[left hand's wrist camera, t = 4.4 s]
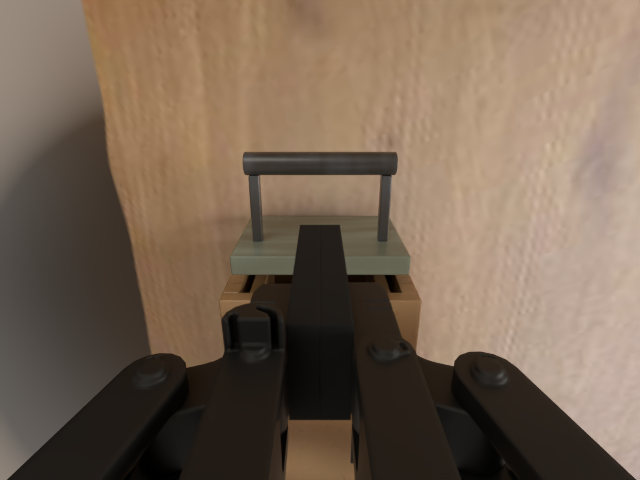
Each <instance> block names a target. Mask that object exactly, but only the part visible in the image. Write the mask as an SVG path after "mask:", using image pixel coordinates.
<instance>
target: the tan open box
mask: <svg viewBox="0 0 640 480" xmlns="http://www.w3.org/2000/svg"><path fill="white" fill-rule="evenodd" d="M255 276H256V275H231V277H230V279H229V281H228V283H227V285H226V287H225V289H224V292H223V294H222V296H221V298H220V300H219V305H220V314H221V319H222V317H223V316H224V315H225V313H226V312H228V311H229V310H231V309H233V308H234V307H237V306H240V305H243V304H248V303H250V301H251V298H252V295H253V293H250V291H251V288H252V285H253V282H254V279H255ZM385 278H386V281H387V284H388V287H389V290H390V293H388V296H389V299H390V302H391V305H392V308H393V311H394V314H395V317H396V320H397V323H398V326H399V329H400V332H401V335H402V338H403V339H405V340H406V341H408V342H409V343H410V344H411V345H412V347H413V348H414V349H415V351H416V346H417V337H418V328H419V319H420V310H421V299H420V297H419V295H418V292H417V290H416V288H415V286H414V284H413V282H412V280H411V277H410V275H385ZM221 323H222V320H221ZM222 332H223V329H222ZM223 341H224V338H223ZM224 350H225V347H224ZM288 436H289V441H288V453H287V464H286V476H285V480H355V475H354V464H353V463H350V461H351V436H352V416H351V420H289V417H288Z"/></svg>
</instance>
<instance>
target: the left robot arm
mask: <svg viewBox="0 0 640 480" xmlns="http://www.w3.org/2000/svg"><path fill="white" fill-rule="evenodd" d="M221 320H222V329H223V338H224V347H225V352H224V355H223V357H222V358H220V359H218V360H216V361H213V362H210V363H207V364H203V365H198V366H194V367H189V368H186V363H185V362H184V360H183V359H182V358H181V357H179V356H177V355H174V354H167V353H159V354H154V355H149V356H146V357H143V358H141V359H139V360H136V361H134V362H133V363H131V364H130V365H129V366H127V367H126V368H125V369H123V370H122V371H121V372H120V373H119V374H118V375H117V376H116V377H115V378H114V379H113V380H112V381H111V382H110V383H109V384H108V385H106V386H105V387H104V388H103V389H102V390H101V391H100V392H99V393H98V394H97V395H96V396H95V397H94V398H93V399H92V400H91V401H90V402H89V403H88V404H87V405H85V406H84V407H83V408H82V409H81V410H80V411H79V412H78V413H77V414H76V415H75V416H74V417H73V418H72V419H71V420H70V421H69V422H67V423H66V424H65V425H64V426H63V427H62V428H61V429H60V430H59V431H58V432H57V433H56V434H55V435H54V436H53V437H52V438H51V439H50V440H49V441H47V442H46V443H45V444H44V445H43V446H42V447H41V448H40V449H39V450H38V451H37V452H36V453H35V454H34V455H33V456H32V457H31V458H29V459H28V460H27V461H26V462H25V463H24V464H23V465H22V466H21V467H20V468H19V469H18V470H17V471H16V472H15V473H14V474H13V475H12V476H11V477H9V478H8V479H7V480H285V476H286V464H287V453H288V441H289V436H288V417H289V420H351V416H352V436H351V461H350V463H353V464H354V475H355V480H636V479H635V478H634V477H633V476H632V475H630V474H629V473H628V472H627V471H626V470H625V469H624V468H623V467H622V466H621V465H620V464H619V463H618V462H617V461H616V460H615V459H613V458H612V457H611V456H610V455H609V454H608V453H607V452H606V451H605V450H604V449H603V448H602V447H601V446H600V445H599V444H598V443H596V442H595V441H594V440H593V439H592V438H591V437H590V436H589V435H588V434H587V433H586V432H585V431H584V430H583V429H582V428H581V427H579V426H578V425H577V424H576V423H575V422H574V421H573V420H572V419H571V418H570V417H569V416H568V415H567V414H566V413H565V412H564V411H562V410H561V409H560V408H559V407H558V406H557V405H556V404H555V403H554V402H553V401H552V400H551V399H550V398H549V397H548V396H547V395H545V394H544V393H543V392H542V391H541V390H540V389H539V388H538V387H537V386H536V385H535V384H534V383H533V382H532V381H531V380H529V379H528V378H527V377H526V376H525V375H524V374H523V373H522V372H521V371H520V370H519V369H518V368H517V367H515V366H514V365H513V364H511V363H510V362H509V361H507V360H506V359H503V358H501V357H499V356H496V355H494V354H490V353H485V352H468V353H465V354H462V355H460V356H459V357H458V358H457V359H456V360H455V363H454V366H449V365H445V364H440V363H436V362H432V361H429V360H426V359H424V358H421V357H419V356H417V354H416V351H415V349H414V348H413V347H412V345H411V344H410V343H409V342H408V341H406V340H405V339H403V338H402V335H401V332H400V329H399V326H398V323H397V320H396V317H395V314H394V311H393V308H392V305H391V302H390V299H389V296H388V293H387V290H385V289H384V288H383V287H382V286H381V285H380V284H378V283H377V282H348V277H347V270H346V263H345V256H344V249H343V242H342V236H341V229H340V225H300V229H299V236H298V242H297V249H296V256H295V263H294V270H293V277H292V283H291V284H262V285H261V286H260V287H258V288H257V289H256V290H255V291H254V292H253V295H252V298H251V301H250V303H248V304H243V305H240V306H237V307H234V308H233V309H231V310H229V311H228V312H226V313H225V315H224V316H223V317H222V319H221Z"/></svg>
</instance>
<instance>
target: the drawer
mask: <svg viewBox="0 0 640 480" xmlns="http://www.w3.org/2000/svg"><path fill="white" fill-rule="evenodd" d="M397 166H398V157H397V153H396V152H244V154H243V170H244V173H245V175H249V191H250V206H251V219H250V221H249V222H248V224H247V226H246V228H245V230H244V232H243V234H242V235H241V237H240V239H239V241H238V243H237V245H236V247H235V248H234V250H233V252H232V254H231V256H230V264H231V274H232V275H256V276H255V279H254V282H253V285H252V288H251V291H250V293H253V292H254V291H255V290H256V289H257V288H258V287H260V286H261V285H262V284H291V283H292V277H293V270H294V263H295V256H296V249H297V242H298V236H299V229H300V225H340V229H341V236H342V242H343V249H344V256H345V263H346V270H347V277H348V282H377V283H378V284H380V285H381V286H382V287H383V288H384V289H385V290H387V293H390V290H389V287H388V284H387V281H386V278H385V275H409V270H410V259H411V257H410V255H409V253H408V251H407V249H406V247H405V246H404V244H403V242H402V240H401V238H400V236H399V234H398V233H397V231H396V229H395V227H394V225H393V223H392V222H391V220H390V218H389V213H390V199H391V184H392V176H391V175H395V174H396V172H397ZM260 175H381V177H380V195H379V212H378V216H262V203H261V186H260Z"/></svg>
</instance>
